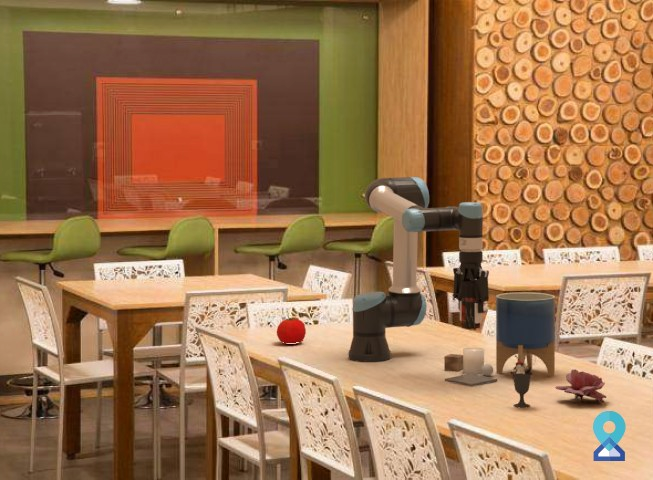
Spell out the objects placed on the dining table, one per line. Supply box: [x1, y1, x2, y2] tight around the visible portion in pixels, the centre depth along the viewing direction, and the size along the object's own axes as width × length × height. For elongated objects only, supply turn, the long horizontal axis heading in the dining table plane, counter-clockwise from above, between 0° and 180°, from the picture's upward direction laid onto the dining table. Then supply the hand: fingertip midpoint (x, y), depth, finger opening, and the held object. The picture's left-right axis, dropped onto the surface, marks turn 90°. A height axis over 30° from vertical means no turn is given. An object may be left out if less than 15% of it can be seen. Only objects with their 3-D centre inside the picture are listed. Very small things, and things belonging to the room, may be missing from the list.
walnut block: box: [443, 353, 463, 373], centre depth 425 cm, size 5×5×5 cm
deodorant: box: [461, 280, 481, 330], centre depth 403 cm, size 6×6×15 cm
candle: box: [462, 347, 485, 376], centre depth 419 cm, size 7×7×8 cm
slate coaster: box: [444, 374, 498, 387], centre depth 405 cm, size 12×12×1 cm
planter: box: [495, 291, 556, 377], centre depth 414 cm, size 19×19×26 cm
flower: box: [554, 369, 607, 405], centre depth 372 cm, size 15×15×10 cm
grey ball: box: [481, 363, 494, 377], centre depth 413 cm, size 4×4×4 cm
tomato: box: [276, 316, 307, 344], centre depth 479 cm, size 11×13×10 cm
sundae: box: [510, 354, 534, 409], centre depth 368 cm, size 7×7×15 cm
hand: (470, 321), depth 404 cm, fingers closed on deodorant, 6 cm apart
